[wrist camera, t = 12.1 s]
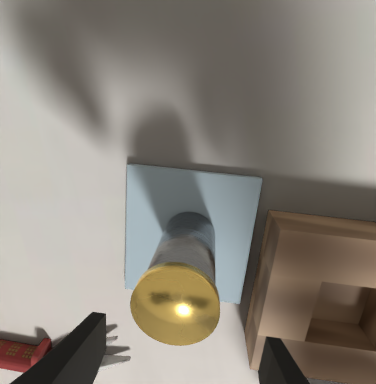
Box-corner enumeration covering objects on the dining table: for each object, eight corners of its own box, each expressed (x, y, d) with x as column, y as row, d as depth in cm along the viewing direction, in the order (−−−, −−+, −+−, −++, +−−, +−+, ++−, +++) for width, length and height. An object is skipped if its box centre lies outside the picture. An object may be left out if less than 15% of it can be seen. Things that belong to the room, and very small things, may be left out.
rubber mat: (239, 299, 22) (239, 303, 21) (127, 284, 22) (124, 288, 22) (261, 177, 19) (262, 179, 18) (129, 163, 19) (127, 164, 19)
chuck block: (380, 351, 22) (410, 392, 19) (244, 332, 23) (250, 369, 19) (431, 228, 19) (479, 252, 15) (268, 210, 19) (280, 229, 16)
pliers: (151, 378, 26) (145, 406, 24) (1, 411, 30) (-18, 438, 27) (101, 290, 24) (88, 311, 21) (-57, 339, 27) (-84, 362, 25)
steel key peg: (218, 209, 19) (221, 274, 11) (217, 260, 20) (218, 349, 13) (161, 208, 19) (126, 268, 12) (163, 258, 21) (133, 341, 13)
